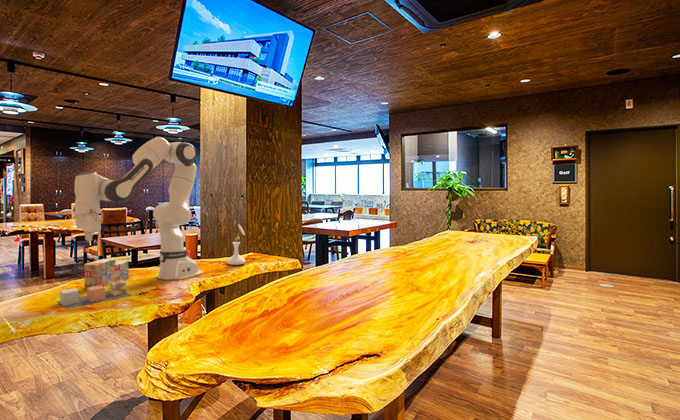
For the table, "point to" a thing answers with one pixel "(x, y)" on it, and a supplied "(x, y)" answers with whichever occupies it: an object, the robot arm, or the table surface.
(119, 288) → the birch block
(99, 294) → the terracotta block
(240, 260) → the flower in vase
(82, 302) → the charcoal mat
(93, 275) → the stack of blocks
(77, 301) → the light gray cube
